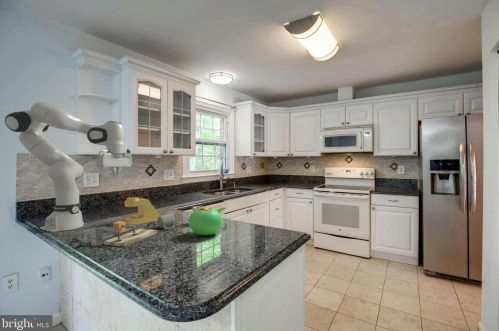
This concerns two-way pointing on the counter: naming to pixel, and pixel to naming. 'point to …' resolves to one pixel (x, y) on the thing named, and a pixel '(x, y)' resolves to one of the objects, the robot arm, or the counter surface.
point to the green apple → (206, 220)
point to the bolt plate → (130, 237)
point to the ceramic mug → (166, 221)
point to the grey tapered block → (107, 235)
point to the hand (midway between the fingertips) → (116, 175)
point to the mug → (197, 208)
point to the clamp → (141, 211)
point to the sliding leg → (122, 226)
